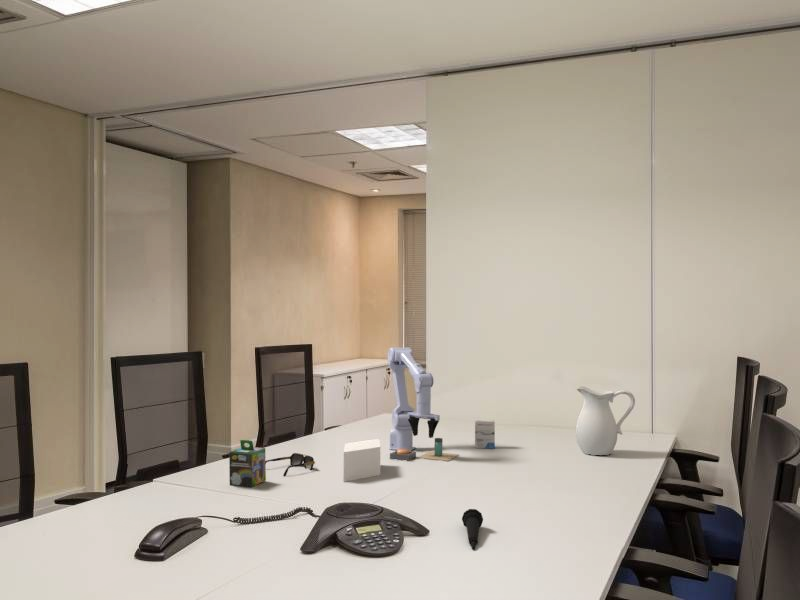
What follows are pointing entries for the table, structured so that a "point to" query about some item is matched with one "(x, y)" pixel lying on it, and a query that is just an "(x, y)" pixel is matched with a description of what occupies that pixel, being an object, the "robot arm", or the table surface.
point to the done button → (403, 451)
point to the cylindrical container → (438, 447)
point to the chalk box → (247, 465)
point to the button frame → (402, 456)
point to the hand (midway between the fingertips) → (423, 436)
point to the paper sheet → (444, 457)
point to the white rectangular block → (361, 459)
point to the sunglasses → (297, 461)
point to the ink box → (484, 434)
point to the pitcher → (599, 421)
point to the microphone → (472, 525)
